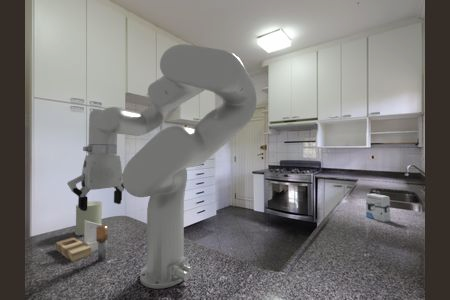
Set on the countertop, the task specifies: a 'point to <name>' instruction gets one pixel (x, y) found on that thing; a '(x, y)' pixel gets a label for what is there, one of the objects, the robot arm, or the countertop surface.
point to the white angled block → (91, 235)
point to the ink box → (378, 207)
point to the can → (88, 215)
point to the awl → (101, 241)
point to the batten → (73, 249)
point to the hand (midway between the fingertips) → (101, 206)
